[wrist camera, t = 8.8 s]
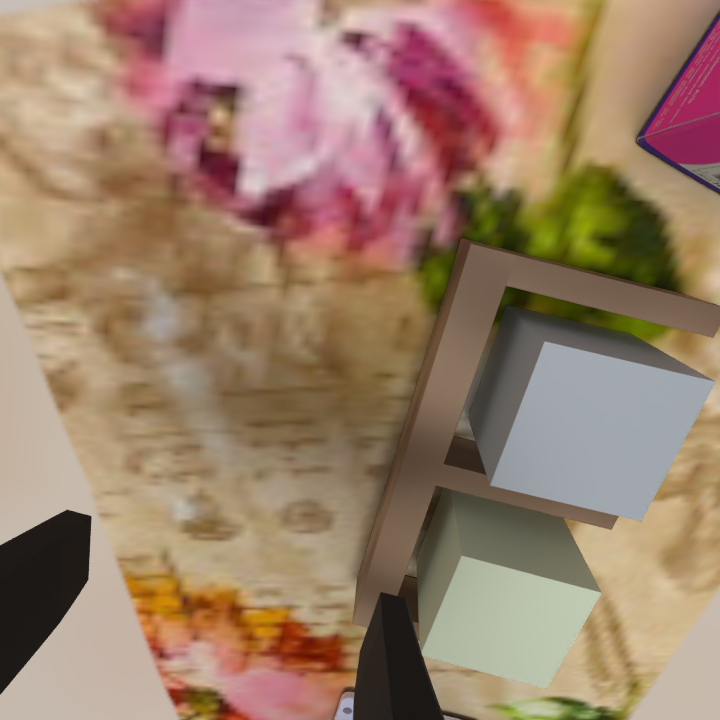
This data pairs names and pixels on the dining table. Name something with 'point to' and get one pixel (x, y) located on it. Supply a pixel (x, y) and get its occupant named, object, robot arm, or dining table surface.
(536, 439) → the slate block
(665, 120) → the supplement box
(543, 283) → the comb rack
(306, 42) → the dining table surface
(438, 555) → the sage block
